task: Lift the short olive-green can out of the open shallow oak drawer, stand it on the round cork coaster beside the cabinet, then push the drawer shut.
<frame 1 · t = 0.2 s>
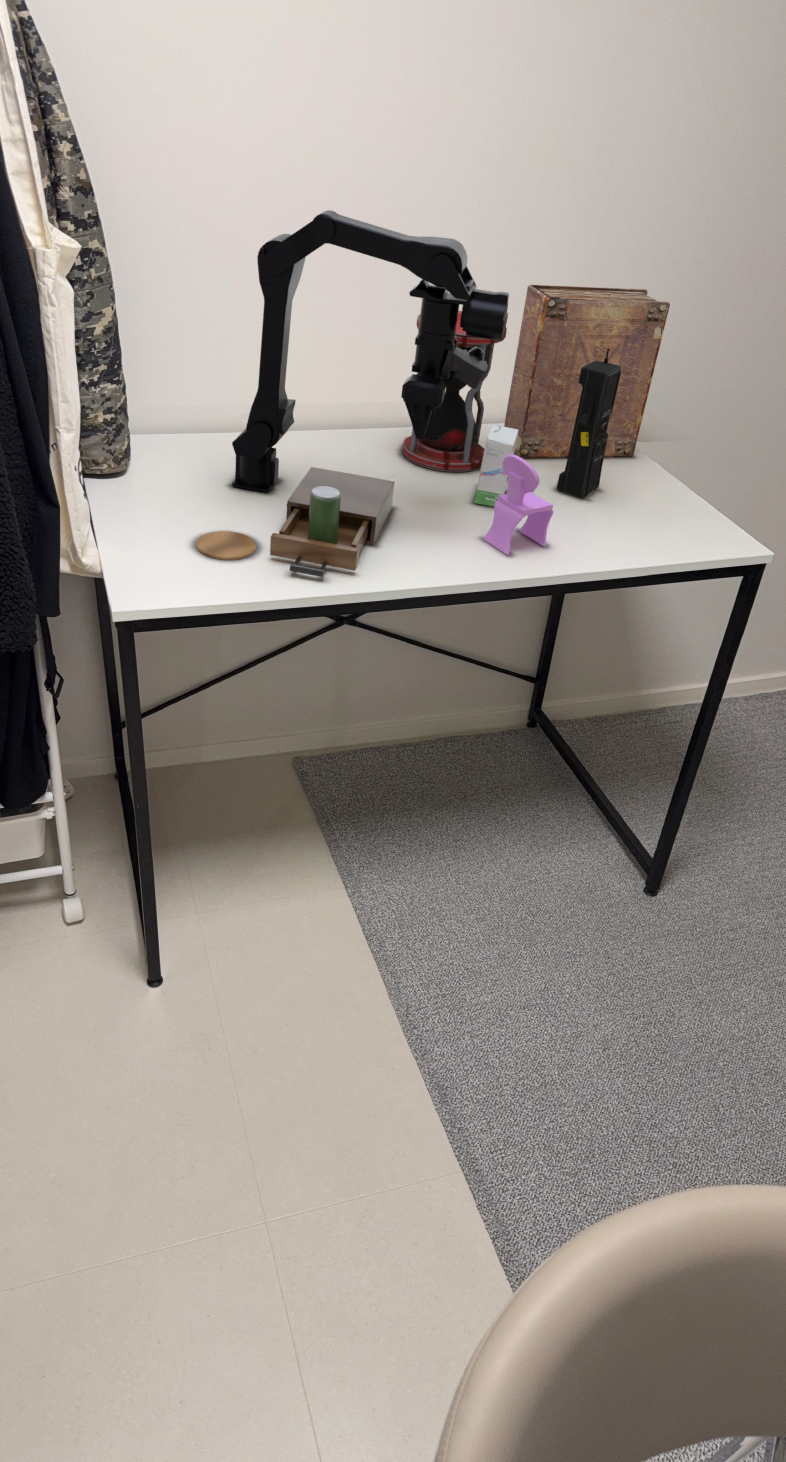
hand: (424, 429, 169), 15 cm above the table, tool pointing down, fingers open, 9 cm apart
hourglass: (443, 457, 201), on the table
ink box: (490, 498, 187), on the table
portable radio: (576, 492, 193), on the table
coaster: (226, 546, 160), on the table
toy chair: (515, 543, 172), on the table
can: (322, 540, 161), point 2 cm above the table, touching drawer
cabinet: (340, 518, 172), on the table
drawer: (321, 539, 160), point 2 cm above the table, slide at 10.0 cm, touching can
book: (566, 450, 211), on the table
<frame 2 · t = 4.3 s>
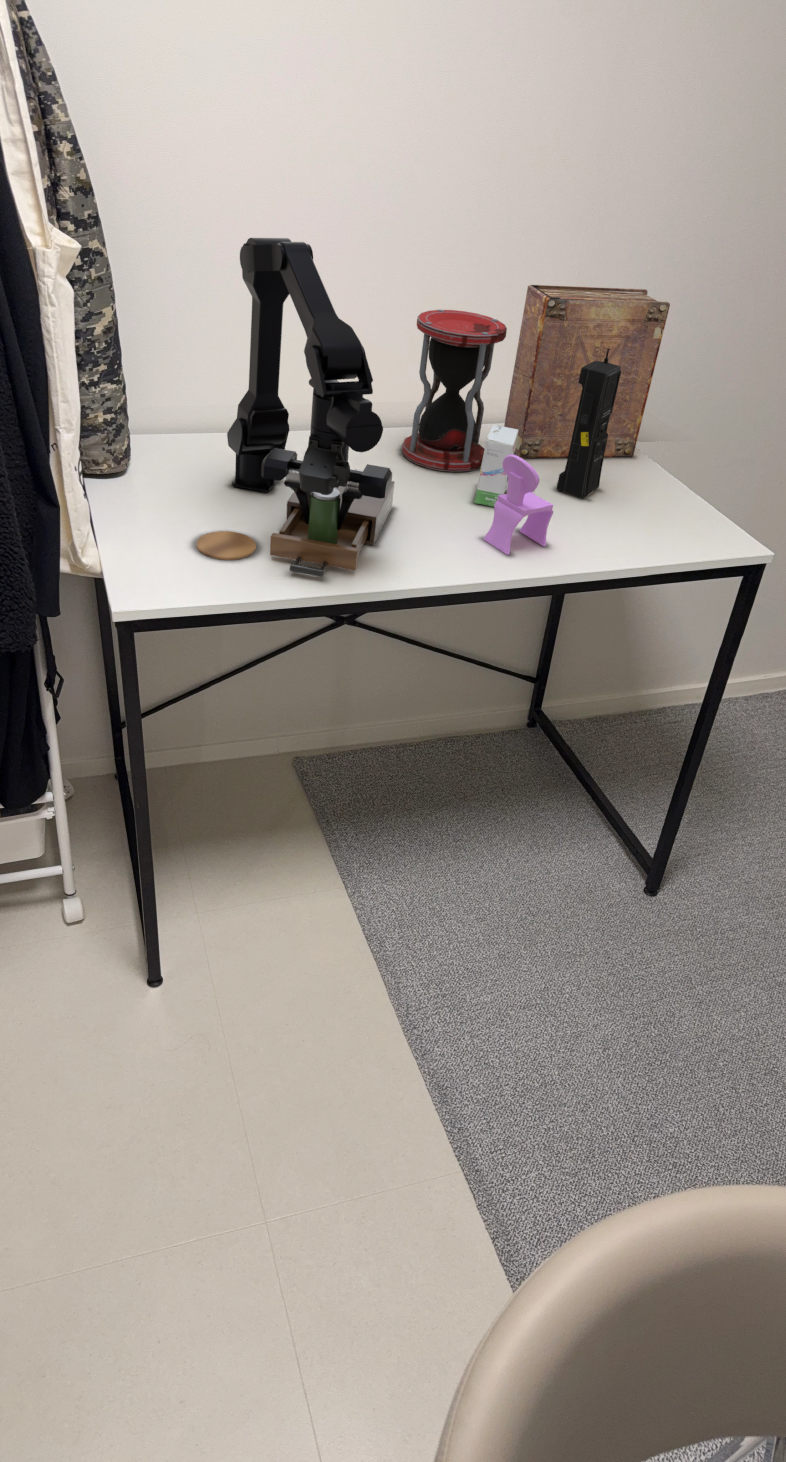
hand: (323, 526, 159), 4 cm above the table, tool pointing down, fingers closed on can, 4 cm apart
can: (322, 540, 161), point 2 cm above the table, touching drawer, gripper
everything else where it was.
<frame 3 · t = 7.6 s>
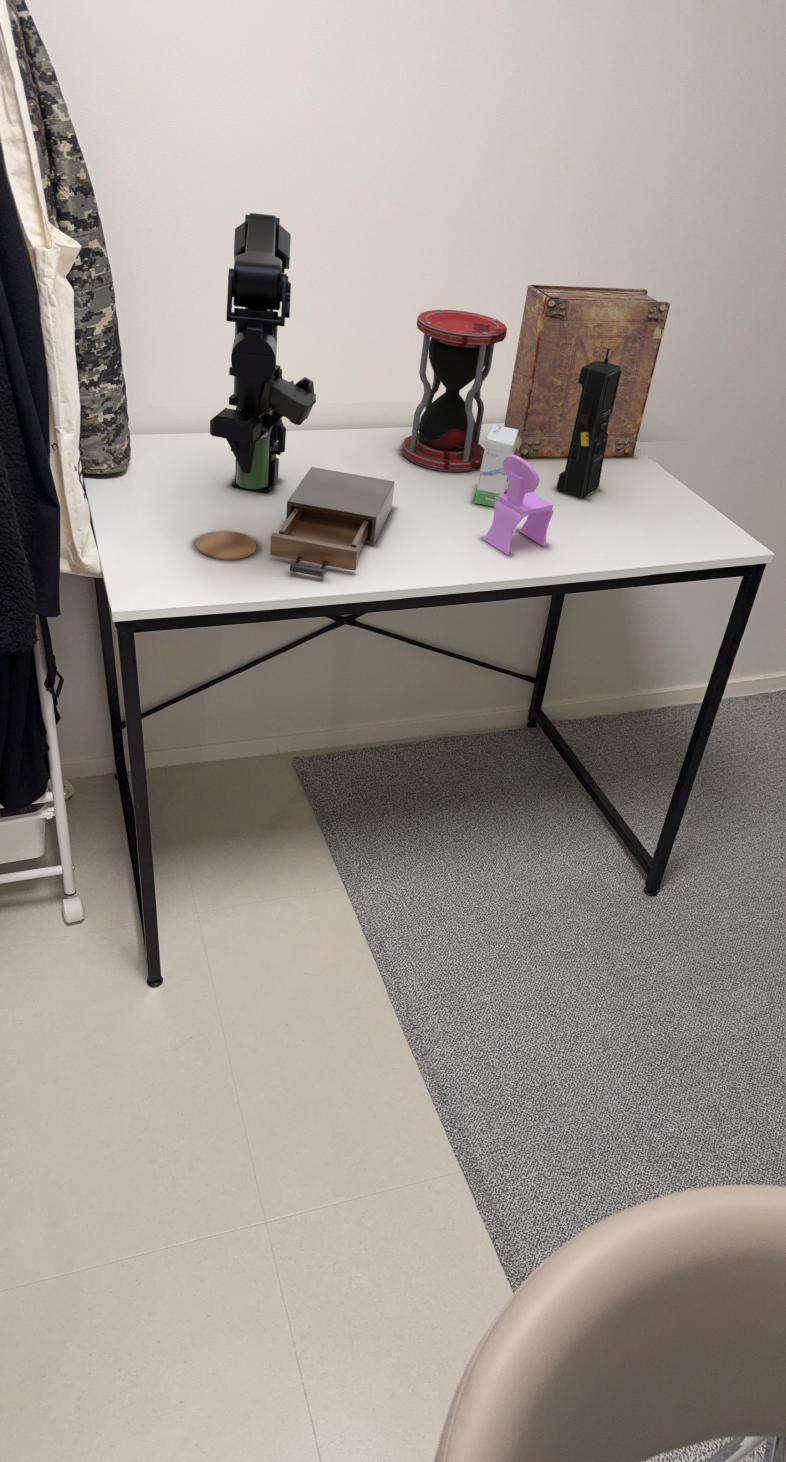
hand: (252, 467, 153), 13 cm above the table, tool pointing down, fingers closed on can, 4 cm apart
can: (252, 482, 154), point 11 cm above the table, touching gripper
drawer: (321, 539, 160), point 2 cm above the table, slide at 10.0 cm
everything else where it was.
when the fingers open (3 cm above the table, at t = 11.1 s): can stays where it is, resting on coaster.
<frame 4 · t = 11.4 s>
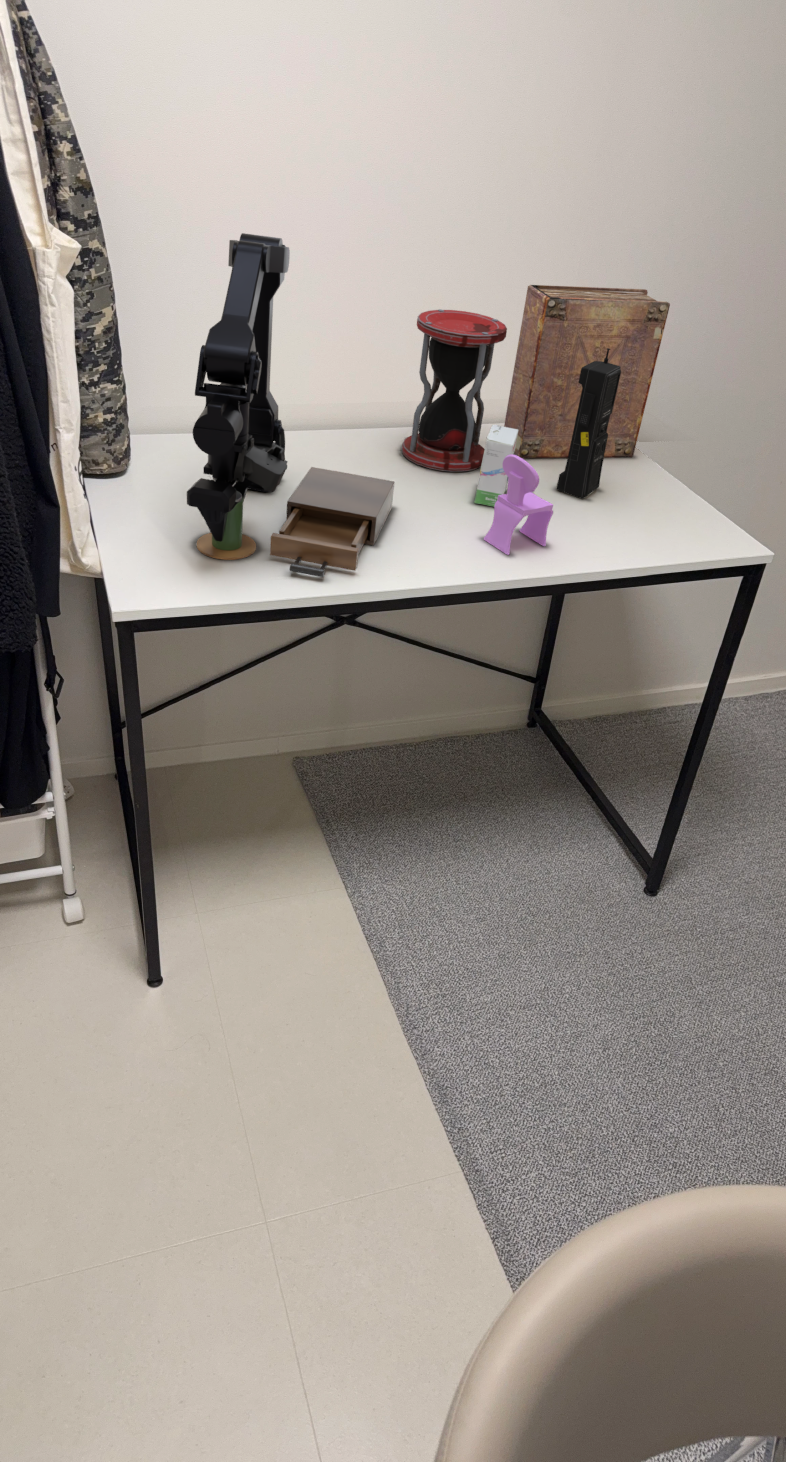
hand: (226, 530, 158), 3 cm above the table, tool pointing down, fingers open, 7 cm apart
can: (226, 543, 160), resting on coaster
everything else where it was.
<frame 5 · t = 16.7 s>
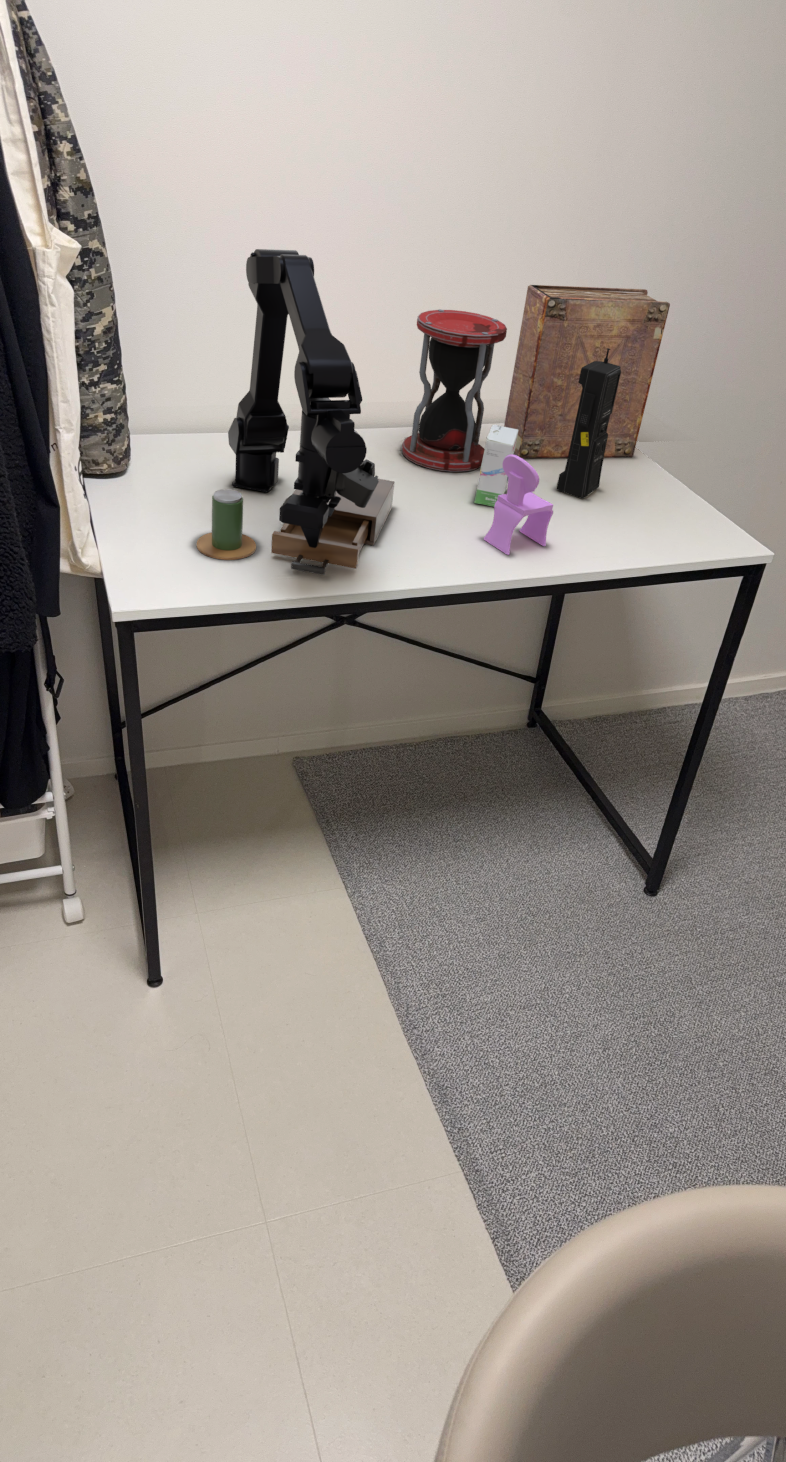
hand: (313, 546, 155), 4 cm above the table, tool pointing down, fingers closed
drawer: (322, 537, 161), point 2 cm above the table, slide at 9.3 cm
everything else where it was.
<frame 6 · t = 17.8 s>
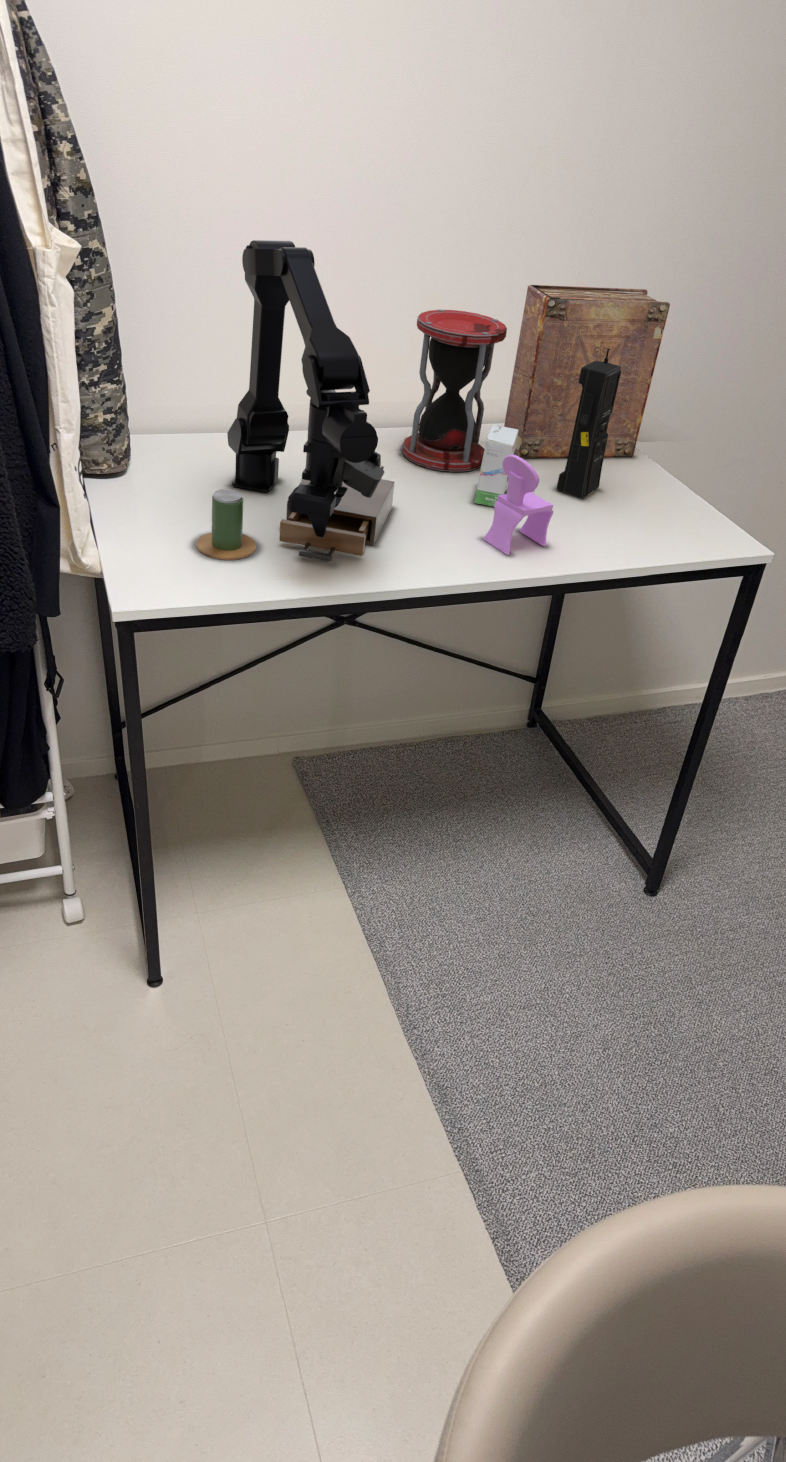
hand: (320, 535, 159), 3 cm above the table, tool pointing down, fingers closed
drawer: (329, 526, 164), point 2 cm above the table, slide at 4.8 cm, touching gripper
everything else where it was.
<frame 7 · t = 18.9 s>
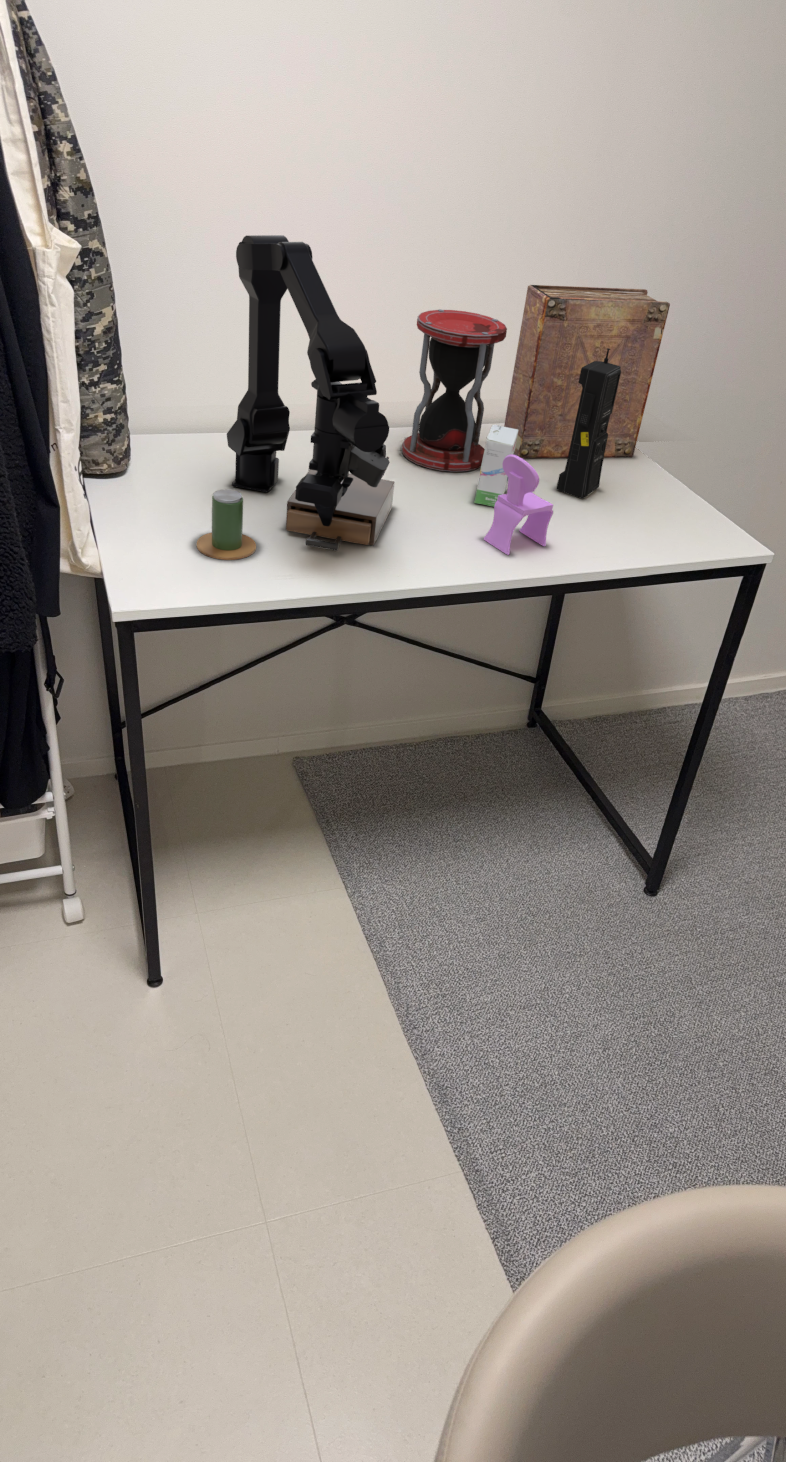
hand: (326, 525, 162), 3 cm above the table, tool pointing down, fingers closed
drawer: (335, 515, 168), point 2 cm above the table, slide at 0.7 cm, touching gripper
everything else where it was.
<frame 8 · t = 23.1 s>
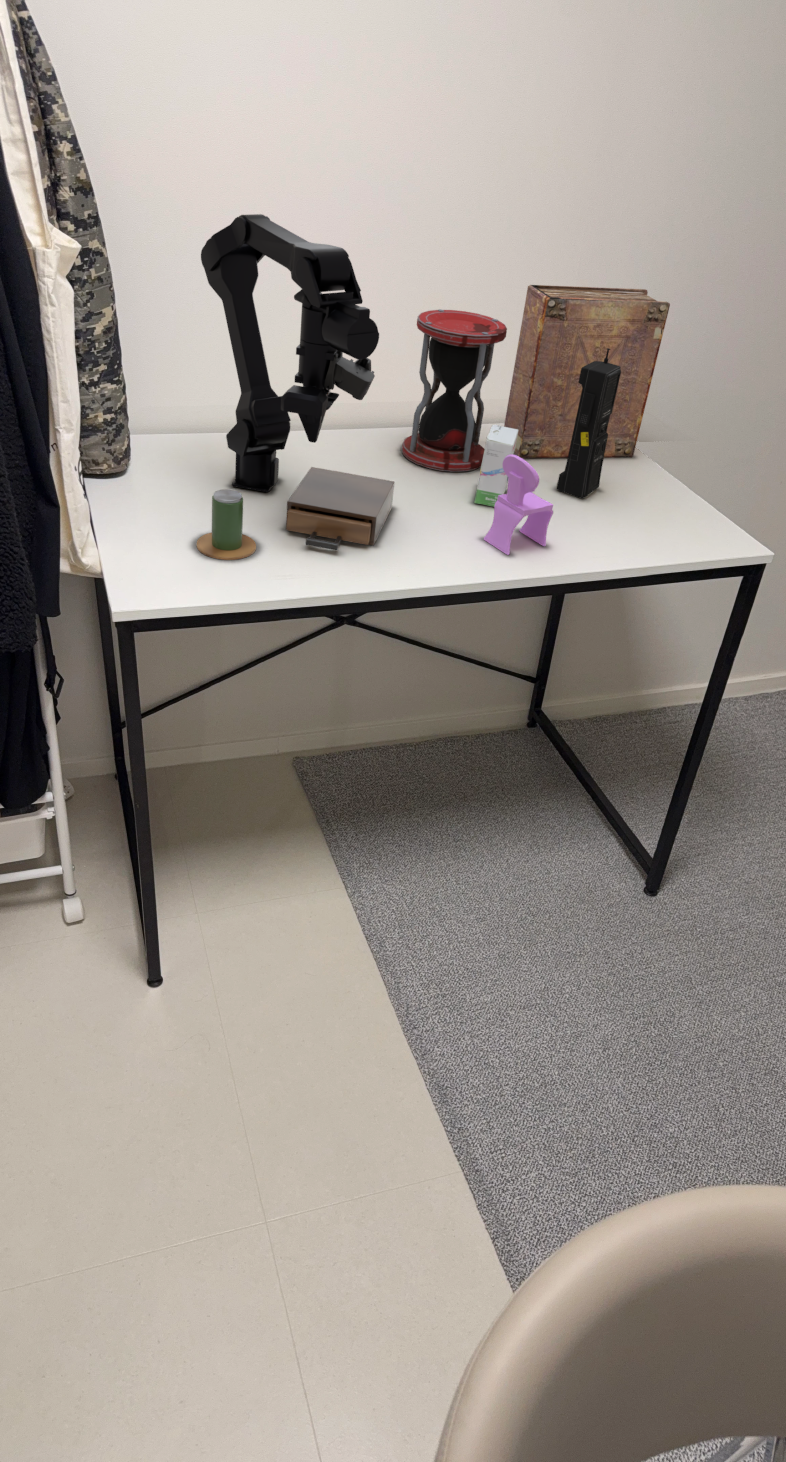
hand: (312, 441, 164), 13 cm above the table, tool pointing down, fingers closed
drawer: (335, 515, 168), point 2 cm above the table, slide at 0.6 cm
everything else where it was.
at the end: can 0.1 cm off-centre on the coaster, point 0.4 cm above the coaster's base; can tilted 0°; drawer slide at 0.6 cm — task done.
